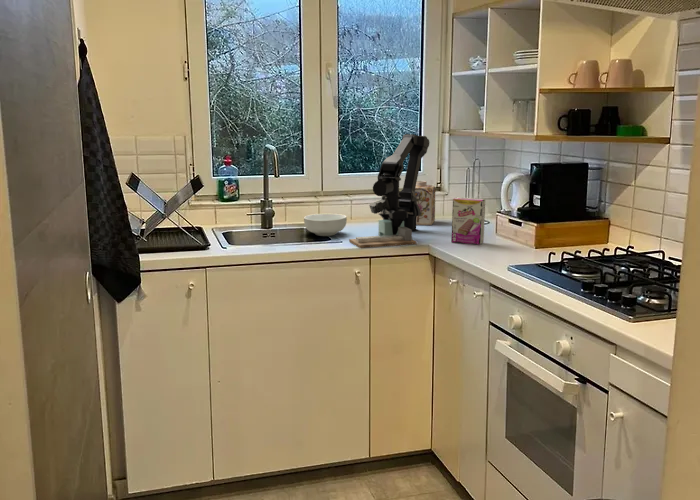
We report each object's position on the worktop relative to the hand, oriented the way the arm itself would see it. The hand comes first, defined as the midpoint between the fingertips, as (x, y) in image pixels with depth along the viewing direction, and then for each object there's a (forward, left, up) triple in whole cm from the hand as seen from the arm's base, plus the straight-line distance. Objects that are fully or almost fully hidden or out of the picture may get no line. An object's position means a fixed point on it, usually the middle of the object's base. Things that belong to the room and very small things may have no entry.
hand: (391, 233), depth 277 cm
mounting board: (+8, +12, -1) cm, 14 cm away
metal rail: (+8, +12, -1) cm, 14 cm away
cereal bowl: (+23, -12, -1) cm, 26 cm away
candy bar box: (-22, +21, -1) cm, 30 cm away
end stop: (-1, +12, -1) cm, 12 cm away
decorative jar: (-23, -25, -1) cm, 34 cm away
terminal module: (0, 0, -1) cm, 1 cm away
